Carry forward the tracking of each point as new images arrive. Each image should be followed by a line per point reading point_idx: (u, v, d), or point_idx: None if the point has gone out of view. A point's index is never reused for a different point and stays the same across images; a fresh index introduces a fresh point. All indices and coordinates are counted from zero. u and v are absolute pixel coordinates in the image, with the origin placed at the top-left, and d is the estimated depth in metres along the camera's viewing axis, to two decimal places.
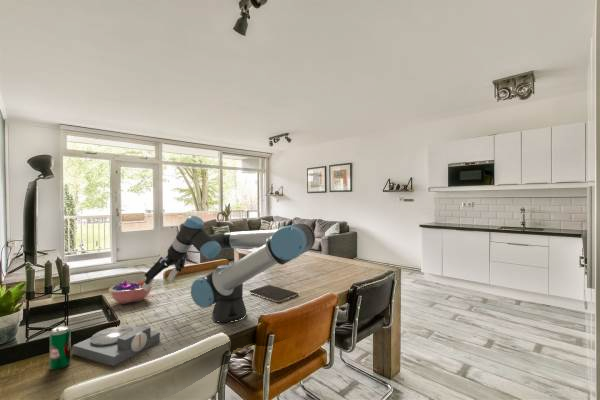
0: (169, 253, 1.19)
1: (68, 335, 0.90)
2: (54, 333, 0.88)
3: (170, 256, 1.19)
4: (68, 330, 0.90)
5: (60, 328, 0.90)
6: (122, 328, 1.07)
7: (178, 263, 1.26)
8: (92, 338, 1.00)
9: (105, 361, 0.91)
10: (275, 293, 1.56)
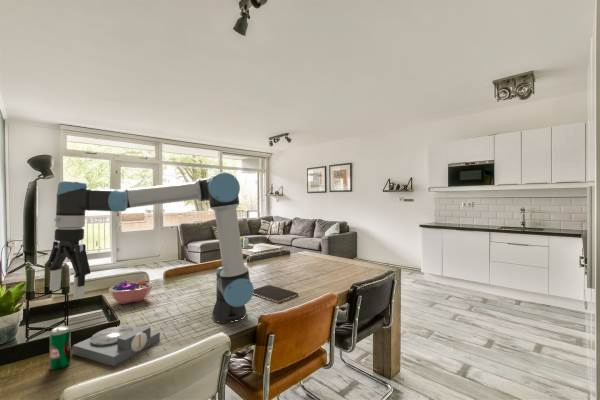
0: (74, 238, 0.91)
1: (68, 335, 0.90)
2: (54, 333, 0.88)
3: (78, 239, 0.92)
4: (68, 330, 0.90)
5: (60, 328, 0.90)
6: (122, 328, 1.07)
7: None
8: (92, 338, 1.00)
9: (105, 361, 0.91)
10: (275, 293, 1.56)
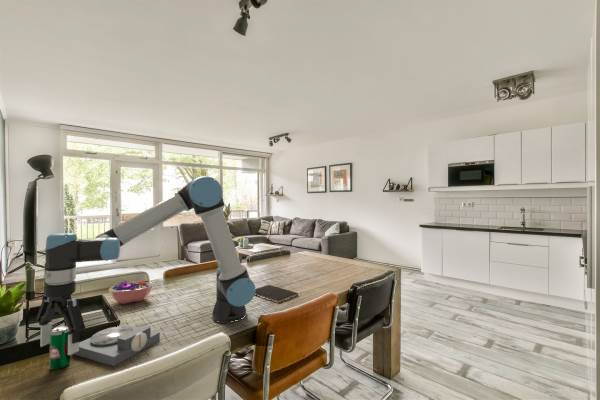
0: (66, 292, 0.88)
1: None
2: (54, 333, 0.88)
3: (70, 293, 0.89)
4: (68, 330, 0.90)
5: (60, 328, 0.90)
6: (122, 328, 1.07)
7: None
8: (92, 338, 1.00)
9: (105, 361, 0.91)
10: (275, 293, 1.56)
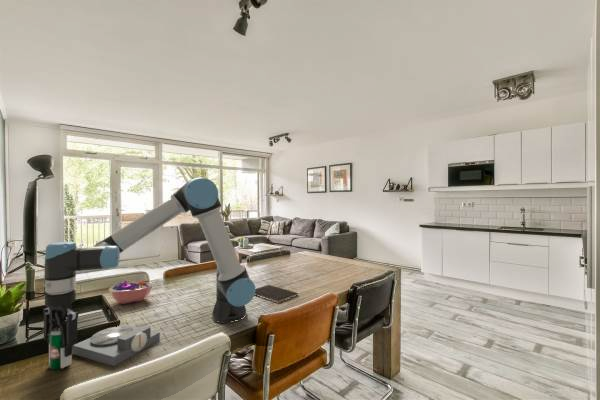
0: (66, 302, 0.88)
1: None
2: (54, 333, 0.88)
3: (70, 303, 0.89)
4: None
5: None
6: (122, 328, 1.07)
7: None
8: (92, 338, 1.00)
9: (105, 361, 0.91)
10: (275, 293, 1.56)
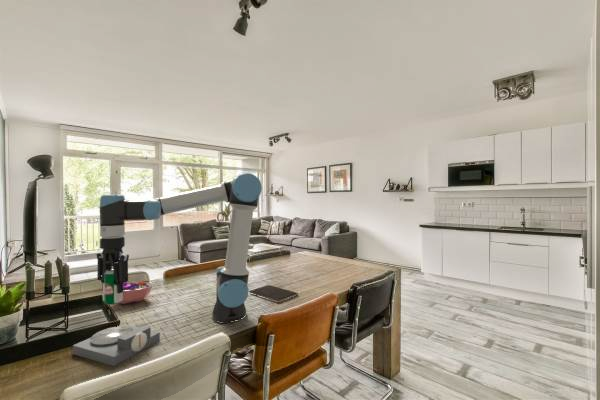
0: (118, 245, 1.01)
1: None
2: (108, 272, 1.01)
3: (121, 247, 1.02)
4: None
5: (112, 269, 1.03)
6: (122, 328, 1.07)
7: None
8: (92, 338, 1.00)
9: (105, 361, 0.91)
10: (275, 293, 1.56)
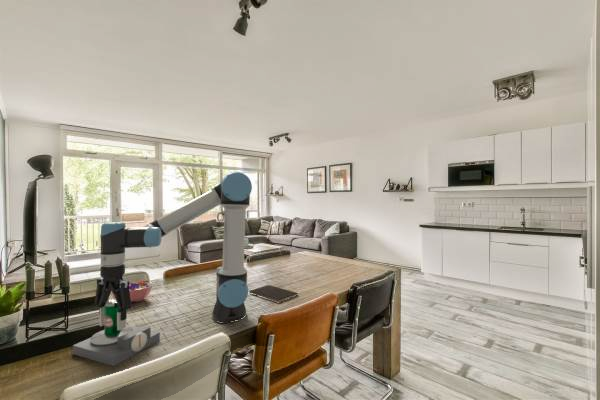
0: (118, 273, 1.01)
1: None
2: (108, 305, 1.01)
3: (121, 274, 1.02)
4: None
5: (112, 301, 1.03)
6: None
7: None
8: (92, 338, 1.00)
9: (105, 361, 0.91)
10: (275, 293, 1.56)
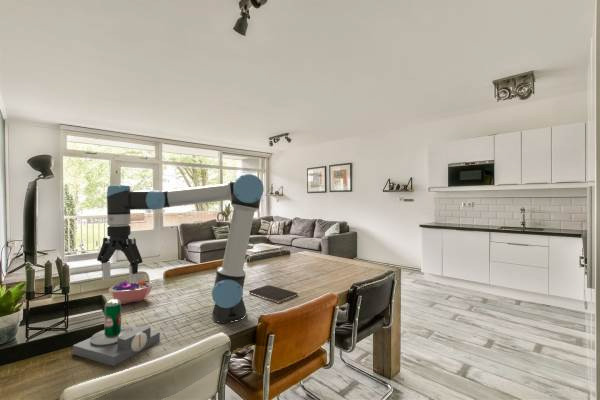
0: (125, 233, 1.06)
1: (120, 307, 1.03)
2: (108, 305, 1.01)
3: (128, 234, 1.07)
4: (119, 303, 1.03)
5: (112, 301, 1.03)
6: (122, 328, 1.07)
7: None
8: (92, 338, 1.00)
9: (105, 361, 0.91)
10: (275, 293, 1.56)
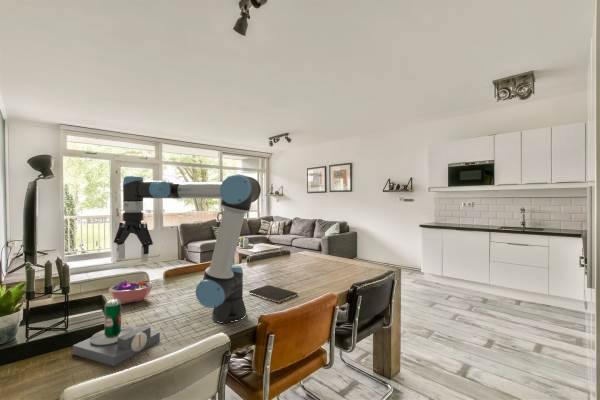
0: (138, 218, 1.21)
1: (120, 307, 1.03)
2: (108, 305, 1.01)
3: (140, 220, 1.22)
4: (119, 303, 1.03)
5: (112, 301, 1.03)
6: (122, 328, 1.07)
7: None
8: (92, 338, 1.00)
9: (105, 361, 0.91)
10: (275, 293, 1.56)
